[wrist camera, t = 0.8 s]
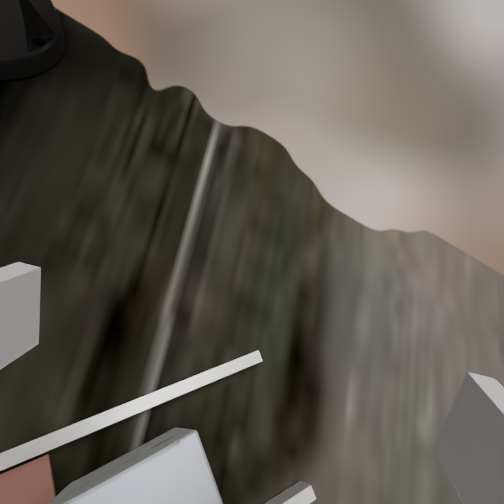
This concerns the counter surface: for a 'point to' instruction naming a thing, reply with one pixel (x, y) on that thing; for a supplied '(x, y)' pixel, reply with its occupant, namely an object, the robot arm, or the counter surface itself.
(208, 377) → the guide channel
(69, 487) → the small box
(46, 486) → the pad
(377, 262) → the counter surface
